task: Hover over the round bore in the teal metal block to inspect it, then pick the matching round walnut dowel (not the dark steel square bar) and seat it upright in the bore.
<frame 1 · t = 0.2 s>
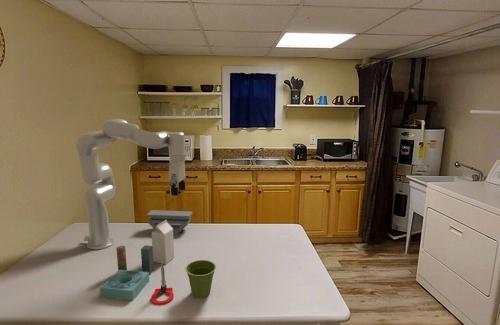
hand: (178, 192, 152), 31 cm above the table, fingers open, 9 cm apart
steel square bar: (148, 272, 138), on the table
walnut dowel: (122, 272, 138), on the table
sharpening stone: (170, 230, 184), on the table
bore block: (126, 288, 126), on the table
milk carton: (163, 260, 150), on the table
tow hook: (162, 298, 121), on the table
plant pot: (201, 293, 123), on the table
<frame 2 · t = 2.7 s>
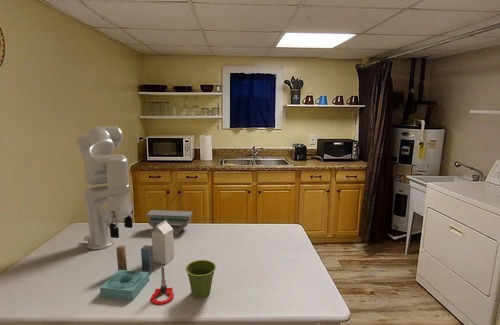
hand: (122, 232, 122), 24 cm above the table, fingers open, 9 cm apart
nothing on the table moved.
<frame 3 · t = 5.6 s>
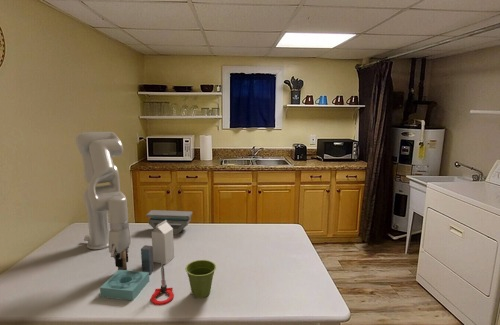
hand: (122, 263, 137), 4 cm above the table, fingers closed on walnut dowel, 3 cm apart
walnut dowel: (122, 272, 138), on the table, touching gripper
everything else where it was.
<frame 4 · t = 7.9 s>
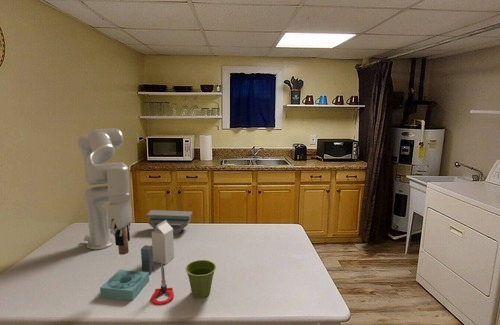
hand: (122, 242, 122), 20 cm above the table, fingers closed on walnut dowel, 3 cm apart
walnut dowel: (123, 252, 123), point 16 cm above the table, touching gripper
everything else where it was.
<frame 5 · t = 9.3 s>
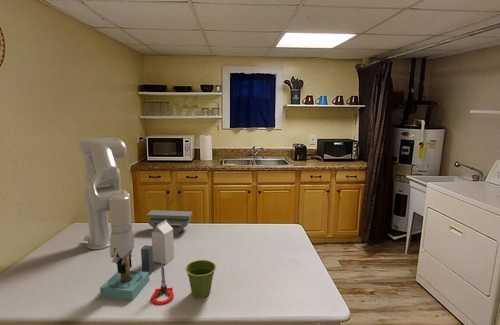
hand: (124, 269, 124), 8 cm above the table, fingers closed on walnut dowel, 3 cm apart
walnut dowel: (125, 279, 125), point 4 cm above the table, touching gripper
everything else where it was.
when the fingers open (5 cm above the table, at t = 10.2 s): walnut dowel stays where it is, resting in bore block.
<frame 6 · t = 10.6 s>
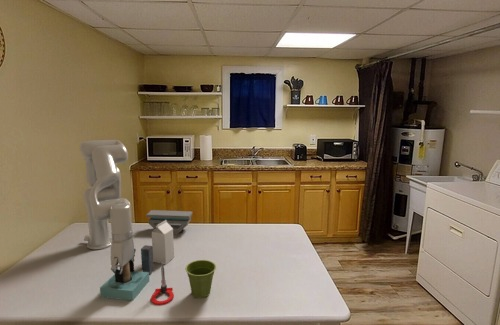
hand: (125, 276, 125), 5 cm above the table, fingers open, 7 cm apart
walnut dowel: (126, 288, 126), resting in bore block
everything else where it was.
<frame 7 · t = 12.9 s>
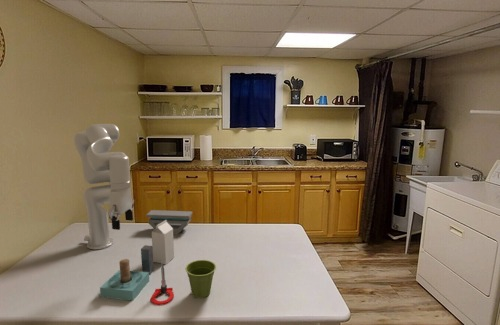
hand: (123, 224, 131), 24 cm above the table, fingers open, 9 cm apart
nothing on the table moved.
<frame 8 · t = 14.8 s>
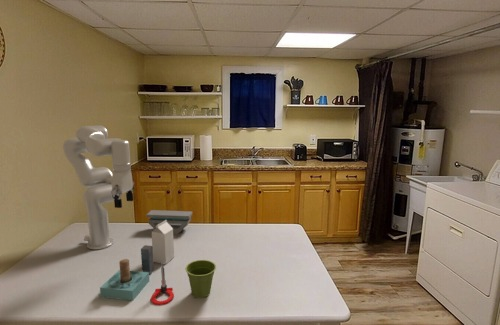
hand: (124, 204, 143), 28 cm above the table, fingers open, 9 cm apart
nothing on the table moved.
at the end: walnut dowel 0.1 cm off-centre in the bore block, point 0.0 cm above the bore block's base; walnut dowel tilted 0°; the gripper is holding nothing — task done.
